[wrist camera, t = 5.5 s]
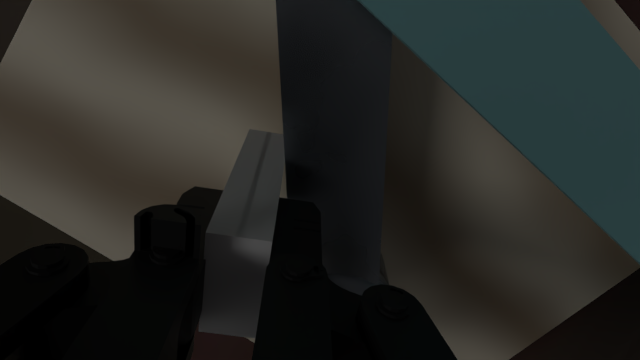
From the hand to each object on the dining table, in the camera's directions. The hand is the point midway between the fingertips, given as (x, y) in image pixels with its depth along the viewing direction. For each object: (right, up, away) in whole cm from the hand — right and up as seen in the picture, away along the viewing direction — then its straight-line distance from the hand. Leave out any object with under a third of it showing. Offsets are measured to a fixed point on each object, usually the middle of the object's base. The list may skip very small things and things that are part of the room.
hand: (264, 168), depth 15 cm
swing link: (+2, 0, +1) cm, 3 cm away
